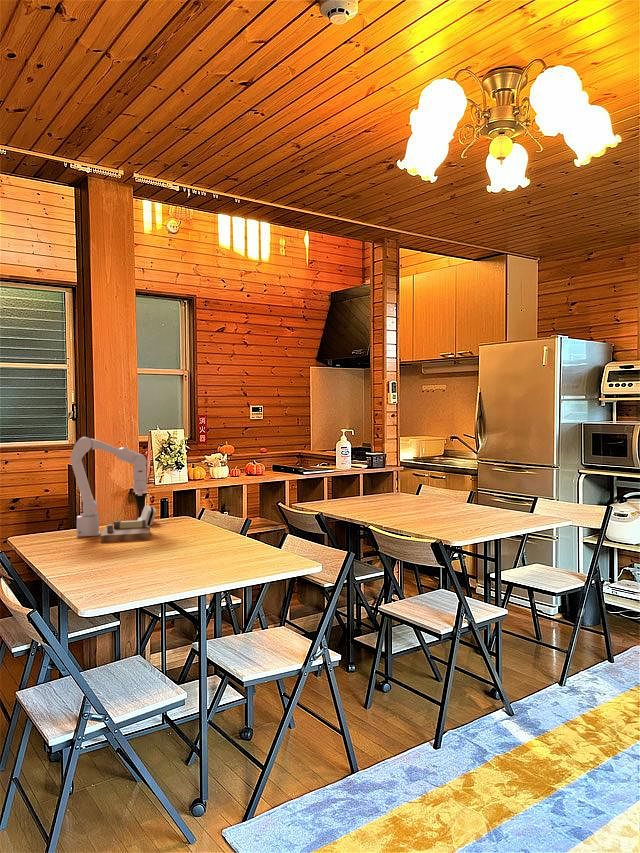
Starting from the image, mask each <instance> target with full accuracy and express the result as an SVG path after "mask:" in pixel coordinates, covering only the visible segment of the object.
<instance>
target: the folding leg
mask: <svg viewBox="0 0 640 853" xmlns="http://www.w3.org/2000/svg"><path fill="white" fill-rule="evenodd" d="M146 526H147V525H146V520H124V521H122V520H115V521H113V528H114V529H120V528H138V527H142V528H143V527H146Z"/></svg>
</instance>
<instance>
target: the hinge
mask: <svg viewBox="0 0 640 853" xmlns="http://www.w3.org/2000/svg"><path fill="white" fill-rule="evenodd" d="M156 513H157V510H156V508H155V506H150V505H144V508H143V510H142V512H141V515H140V517H138V518H137V520H146V526H149V525H152V526H153V525H154V524H153V523H154V520H155V518H156Z"/></svg>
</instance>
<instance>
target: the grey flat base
mask: <svg viewBox="0 0 640 853" xmlns="http://www.w3.org/2000/svg"><path fill="white" fill-rule="evenodd" d="M99 536H100V543H101V542H104V543H116V542H115V541H121V542H134V541H133V540H138V541H150V538H149V537H150V536H151V526H149V525H146V527H143V528H142V527H138V528H120V529H114V523H107V526H106V527H104V528H103V529H102V531H101V533H100V535H99Z"/></svg>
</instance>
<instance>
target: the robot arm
mask: <svg viewBox="0 0 640 853" xmlns="http://www.w3.org/2000/svg"><path fill="white" fill-rule="evenodd" d="M91 449H92V450H101V451H104V452H107V453H109V454H113V455H115V456H116V458H117V459H118V460H120V461H123V462H125V463H128V464H133V493H135V494H134V495H133V496H134V498H135V501H136V504H137V510H142V511H143V509H144V507H145V500H146V498H147V495H148V494H147V492H150V488H148V487H147V462H148V460H147V458H146V456H145V455H144V454H142V453H139V451H134V450H132V449H129V447H127V446H125V447H124V446H123V447H119V448H118V447H116V446H113V445H111V444H108V443H106V442H103V441H101V440H98V439H95V438H90V437H87V436H82V437H80V438H78V440H77V441H76V442H75V444H74V445H73V449H72V452H71V453H70V456H69V459H70V460H69V461H70V463H71V468H72V470H73V474H74V477H75V480H76V484H77V488H78V489H79V490H78V491H79V493H80V497H81V502H82V513H81V515H77V516H76V537H78V538H79V537H93V536H95V537H96V536H101V533H102V531H100V521H99V520H100V519H99V518H100V516H99V512H98V502H97V501H96V500H95V498H94V497H93V494H92V491H91V487H90V484H89V480H88V477H87V474H86V470H85V467H84V464H83V457H84V456H85V454H86V453H88V452H89V451H90V450H91Z"/></svg>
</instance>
